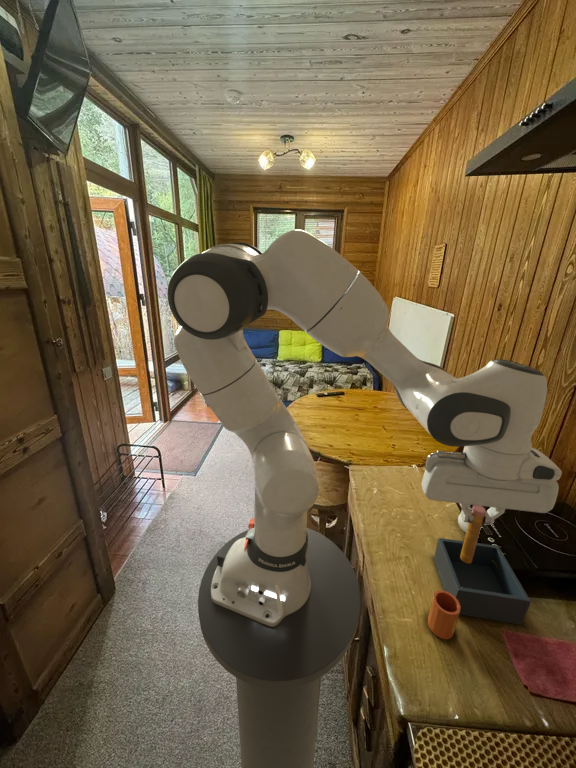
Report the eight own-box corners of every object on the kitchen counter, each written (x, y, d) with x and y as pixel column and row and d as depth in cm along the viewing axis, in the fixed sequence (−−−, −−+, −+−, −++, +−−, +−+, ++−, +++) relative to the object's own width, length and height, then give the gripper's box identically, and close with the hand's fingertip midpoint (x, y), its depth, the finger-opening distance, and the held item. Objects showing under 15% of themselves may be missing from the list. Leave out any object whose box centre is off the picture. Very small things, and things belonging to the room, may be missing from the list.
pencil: (462, 562, 58) (475, 511, 54) (458, 553, 60) (471, 504, 56) (473, 564, 58) (487, 513, 54) (469, 555, 60) (483, 505, 56)
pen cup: (431, 637, 61) (437, 612, 58) (424, 612, 65) (430, 588, 63) (457, 641, 60) (464, 617, 58) (448, 616, 65) (455, 592, 62)
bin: (451, 613, 65) (458, 590, 63) (433, 558, 78) (438, 537, 76) (521, 624, 63) (531, 601, 61) (491, 567, 76) (498, 545, 74)
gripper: (433, 459, 50) (420, 526, 55) (574, 473, 47) (548, 543, 52) (423, 440, 56) (412, 502, 61) (548, 451, 53) (527, 516, 57)
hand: (476, 521), depth 56 cm, fingers closed on pencil, 2 cm apart
